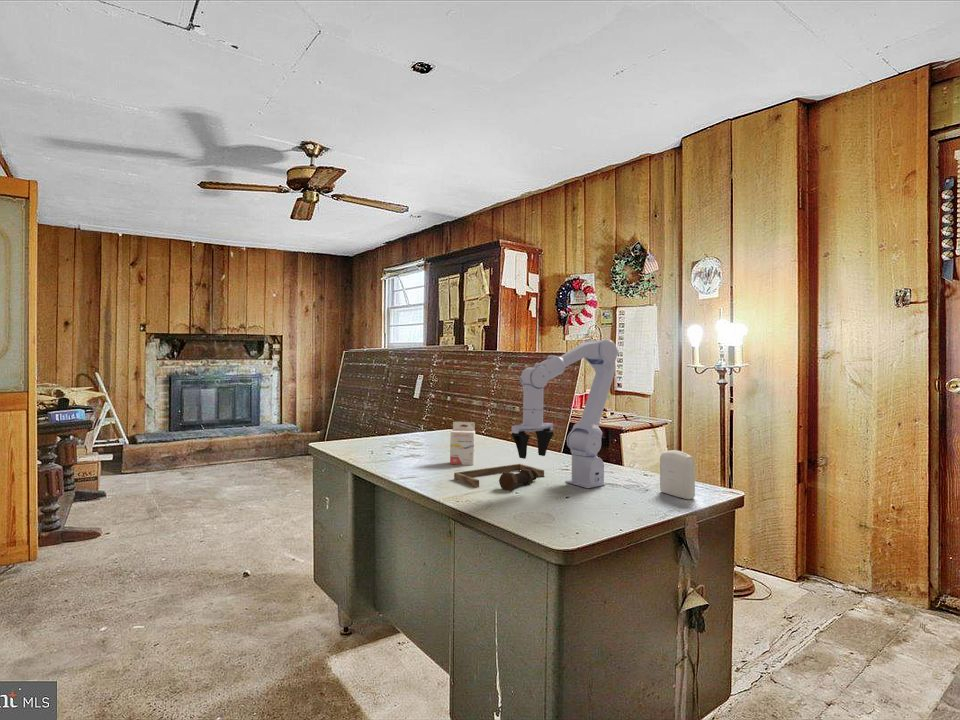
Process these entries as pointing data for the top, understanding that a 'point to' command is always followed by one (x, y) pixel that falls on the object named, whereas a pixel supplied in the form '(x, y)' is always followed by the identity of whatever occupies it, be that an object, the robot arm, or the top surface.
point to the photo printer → (677, 474)
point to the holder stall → (468, 475)
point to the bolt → (516, 479)
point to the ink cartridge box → (462, 444)
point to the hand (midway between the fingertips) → (532, 456)
